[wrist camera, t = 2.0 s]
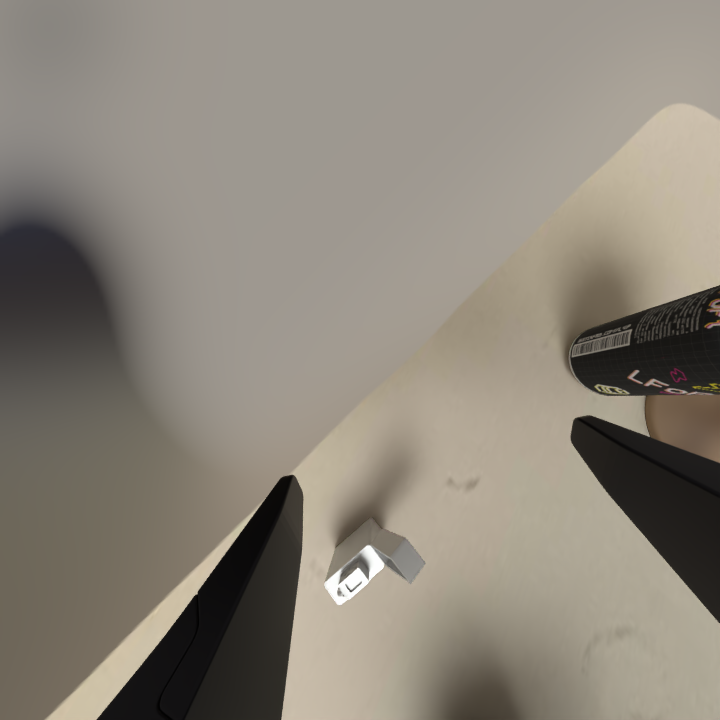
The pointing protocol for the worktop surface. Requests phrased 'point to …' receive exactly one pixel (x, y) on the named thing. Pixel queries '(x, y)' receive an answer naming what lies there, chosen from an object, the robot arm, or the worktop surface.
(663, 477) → the robot arm
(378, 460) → the worktop surface
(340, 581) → the lighter
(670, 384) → the beverage can
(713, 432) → the bronze round coaster
